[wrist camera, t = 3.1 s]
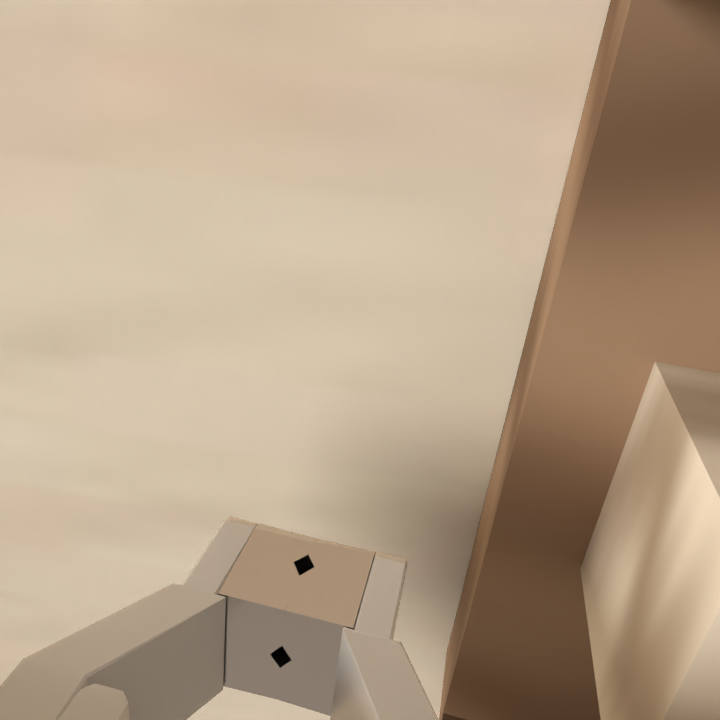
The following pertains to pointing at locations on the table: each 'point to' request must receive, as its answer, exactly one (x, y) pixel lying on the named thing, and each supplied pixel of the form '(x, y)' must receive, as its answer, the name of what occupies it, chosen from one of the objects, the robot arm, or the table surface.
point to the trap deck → (595, 357)
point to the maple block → (660, 558)
